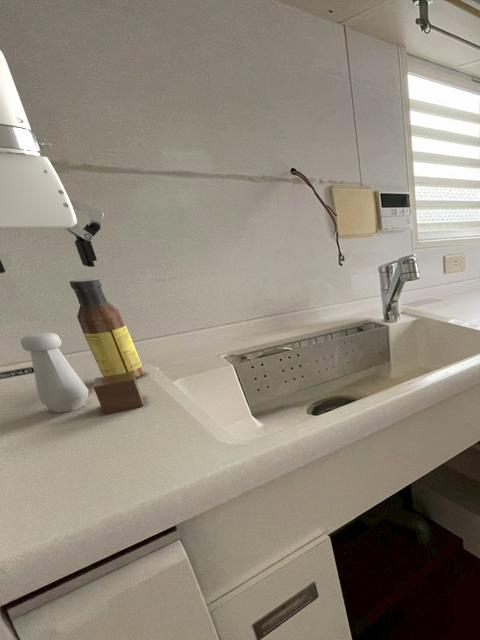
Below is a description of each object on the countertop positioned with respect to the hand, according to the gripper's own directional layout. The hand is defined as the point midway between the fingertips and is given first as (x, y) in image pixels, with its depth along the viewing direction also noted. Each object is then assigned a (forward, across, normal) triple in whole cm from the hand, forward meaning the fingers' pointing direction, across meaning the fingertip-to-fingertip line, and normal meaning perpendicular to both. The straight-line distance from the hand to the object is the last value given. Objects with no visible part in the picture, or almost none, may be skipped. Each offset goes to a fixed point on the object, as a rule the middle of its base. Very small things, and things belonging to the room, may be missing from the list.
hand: (47, 269), depth 62 cm
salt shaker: (+23, +3, -3) cm, 24 cm away
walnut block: (+23, -2, +4) cm, 24 cm away
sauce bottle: (+23, -7, -12) cm, 27 cm away
